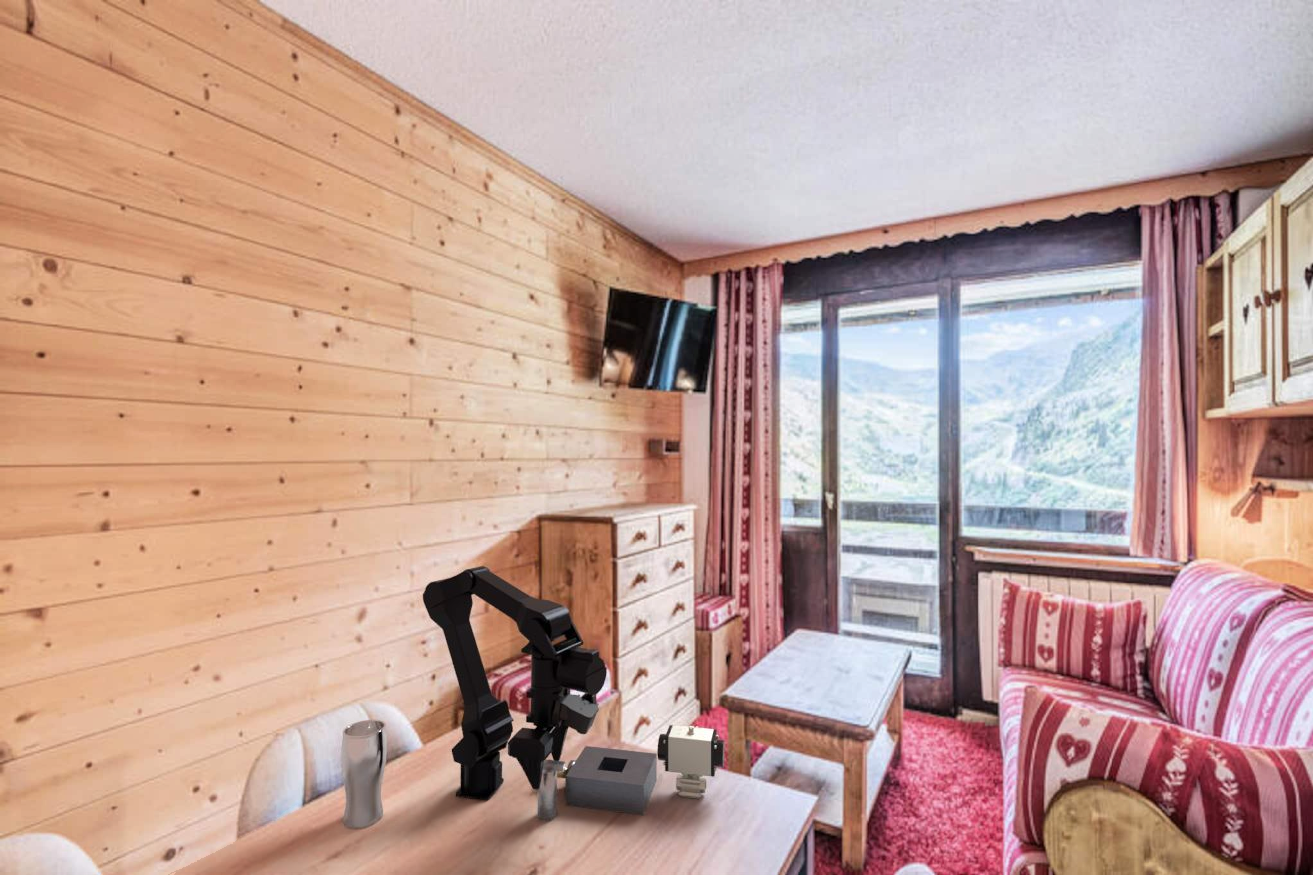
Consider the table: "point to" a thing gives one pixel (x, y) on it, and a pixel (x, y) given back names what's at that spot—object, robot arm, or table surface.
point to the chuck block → (610, 780)
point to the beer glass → (363, 772)
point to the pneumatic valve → (691, 756)
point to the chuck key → (549, 790)
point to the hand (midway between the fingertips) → (546, 774)
